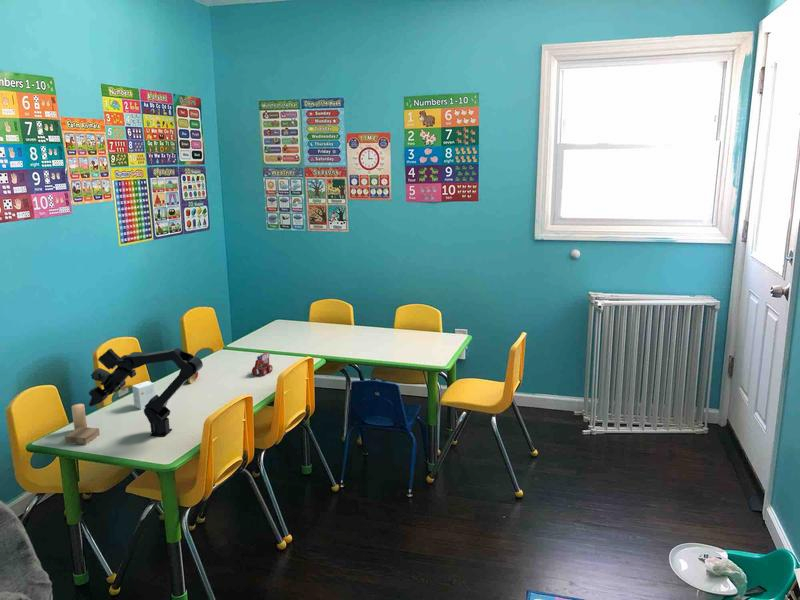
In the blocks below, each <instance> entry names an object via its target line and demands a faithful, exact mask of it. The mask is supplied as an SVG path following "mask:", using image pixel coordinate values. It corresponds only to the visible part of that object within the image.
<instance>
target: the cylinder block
mask: <svg viewBox="0 0 800 600" xmlns="http://www.w3.org/2000/svg"><path fill="white" fill-rule="evenodd" d="M71 413H72V421H73V428H74V429H73V430H75V429H77V428H78V427H86V428H88V422H87V417H86V415H87V414H86V409H85V404H84V403H76V404H73V405H71Z"/></svg>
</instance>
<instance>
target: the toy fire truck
mask: <svg viewBox="0 0 800 600" xmlns="http://www.w3.org/2000/svg"><path fill="white" fill-rule="evenodd" d="M272 371H273V365H272V364H270V352H269V351H265V352H263V353H262V354H260V355H258V356H257V358H256V360H255V364H254V366H253V367H252V368H251V374H252V375H254V374H256V375H261V376H263V377H265V376H267V373H269V374H270V373H271V372H272ZM256 375H255V376H256Z"/></svg>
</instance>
